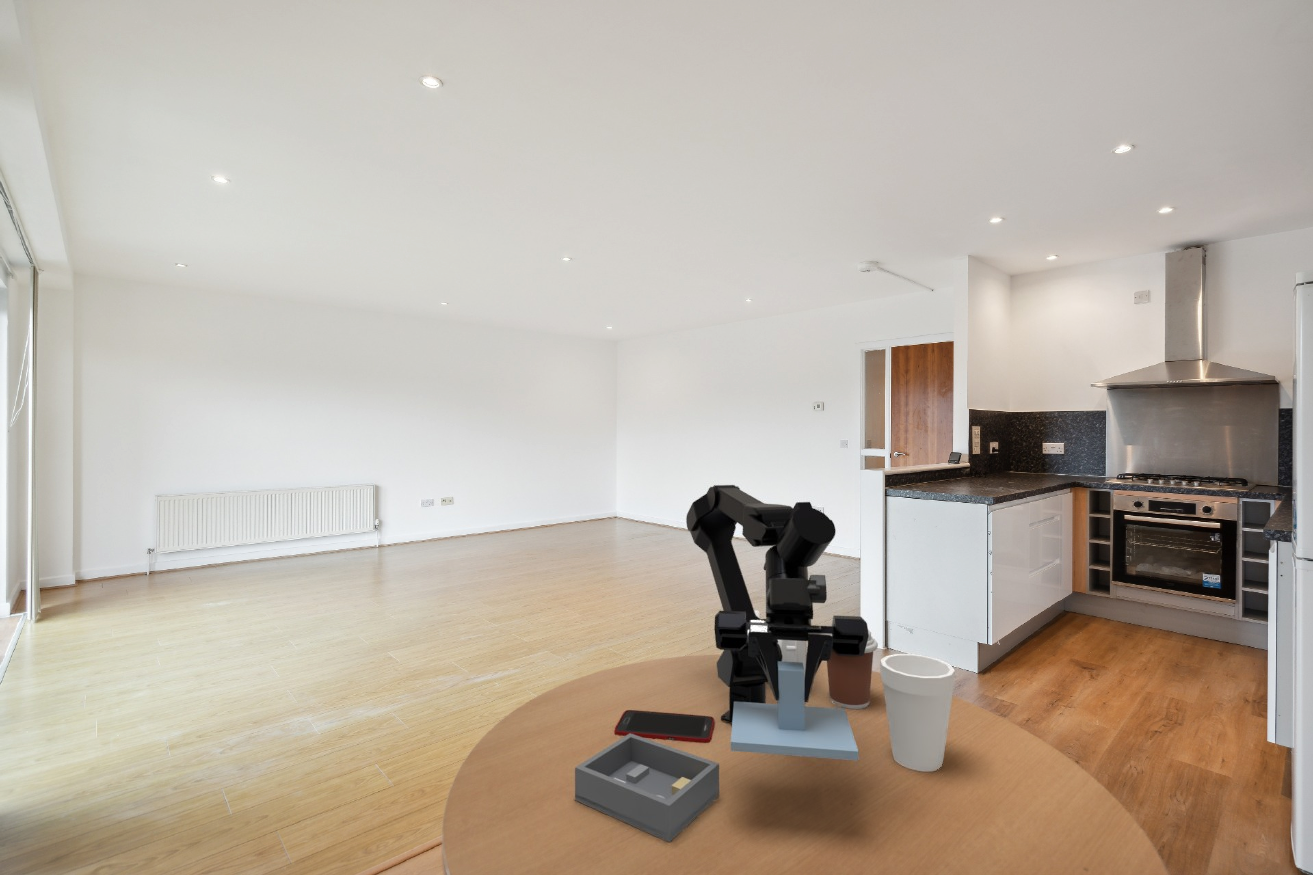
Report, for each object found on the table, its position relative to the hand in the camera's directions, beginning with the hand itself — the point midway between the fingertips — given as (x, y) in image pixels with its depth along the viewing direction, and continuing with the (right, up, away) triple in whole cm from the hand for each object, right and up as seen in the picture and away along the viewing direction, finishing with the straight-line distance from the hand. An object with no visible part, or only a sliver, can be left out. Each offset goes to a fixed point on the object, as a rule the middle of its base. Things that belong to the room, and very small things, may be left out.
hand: (791, 699), depth 74 cm
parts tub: (-17, -13, +3) cm, 22 cm away
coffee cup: (+17, -14, +32) cm, 39 cm away
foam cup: (+20, -14, +13) cm, 27 cm away
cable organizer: (+6, -14, +41) cm, 44 cm away
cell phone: (-15, -14, +22) cm, 30 cm away
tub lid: (0, -5, +2) cm, 5 cm away
